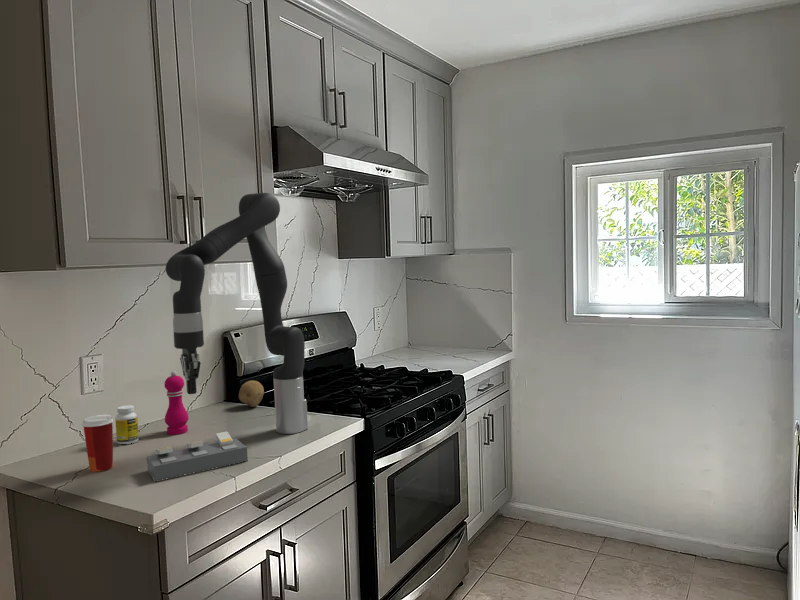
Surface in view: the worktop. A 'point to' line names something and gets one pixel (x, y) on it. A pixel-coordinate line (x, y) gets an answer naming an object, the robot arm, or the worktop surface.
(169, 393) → the pepper mill
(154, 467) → the rocker switch box
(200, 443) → the rocker middle
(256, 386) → the brown potato
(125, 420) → the pill bottle
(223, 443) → the rocker
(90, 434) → the paper cup
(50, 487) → the worktop surface
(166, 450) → the rocker
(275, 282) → the robot arm
